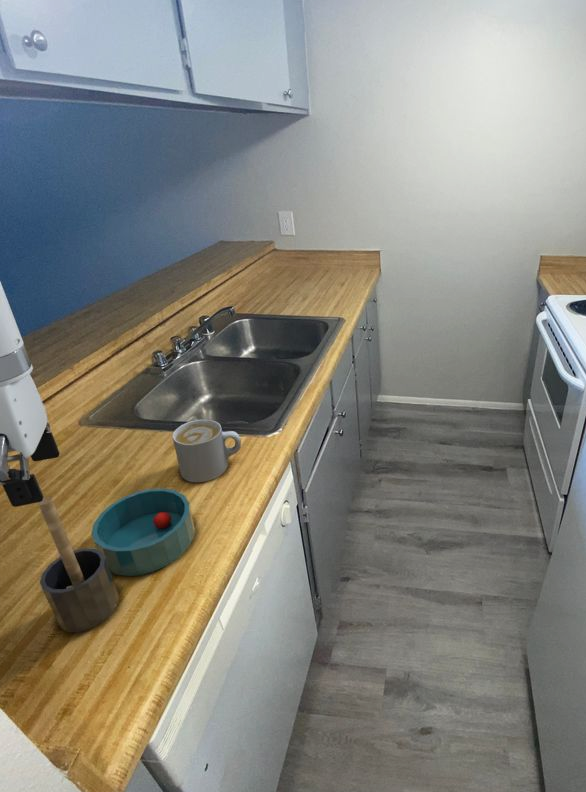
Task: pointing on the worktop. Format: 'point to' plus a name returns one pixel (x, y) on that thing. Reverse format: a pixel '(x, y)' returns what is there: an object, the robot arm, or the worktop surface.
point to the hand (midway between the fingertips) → (38, 479)
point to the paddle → (61, 541)
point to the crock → (81, 591)
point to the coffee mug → (203, 449)
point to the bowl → (143, 531)
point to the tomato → (162, 520)
